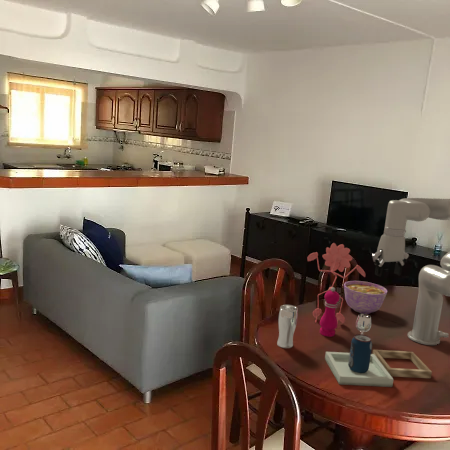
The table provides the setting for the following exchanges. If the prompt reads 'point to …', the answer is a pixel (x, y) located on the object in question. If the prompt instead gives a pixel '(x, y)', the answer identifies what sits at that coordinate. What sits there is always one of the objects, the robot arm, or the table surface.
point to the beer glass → (287, 325)
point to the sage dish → (347, 377)
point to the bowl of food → (364, 296)
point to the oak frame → (398, 372)
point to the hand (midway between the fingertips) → (387, 275)
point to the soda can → (360, 353)
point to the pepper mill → (329, 314)
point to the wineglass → (363, 323)
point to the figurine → (337, 260)
